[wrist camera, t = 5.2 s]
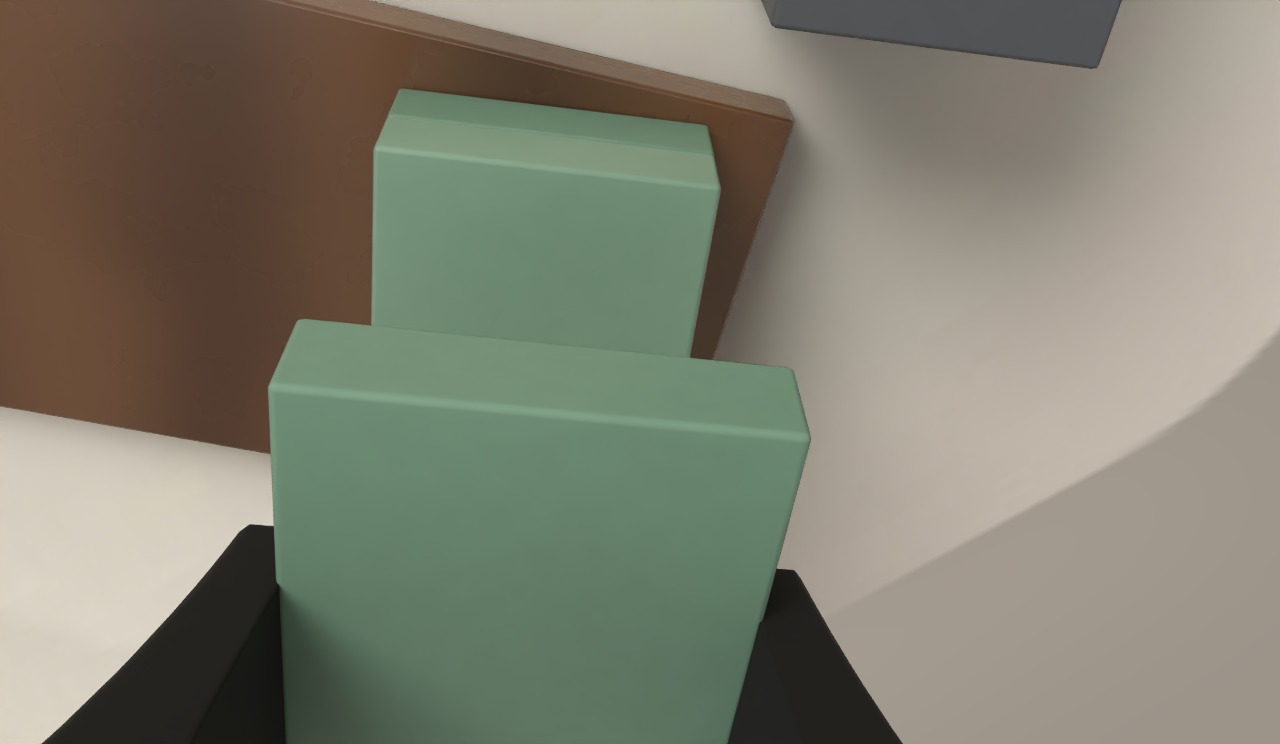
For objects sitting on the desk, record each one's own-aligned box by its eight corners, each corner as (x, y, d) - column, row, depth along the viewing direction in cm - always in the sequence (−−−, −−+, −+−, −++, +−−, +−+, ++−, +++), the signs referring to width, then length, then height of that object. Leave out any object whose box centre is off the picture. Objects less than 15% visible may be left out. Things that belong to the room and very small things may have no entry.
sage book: (796, 364, 11) (814, 436, 10) (681, 825, 15) (687, 911, 14) (296, 314, 11) (265, 383, 10) (309, 802, 15) (287, 888, 14)
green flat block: (709, 124, 18) (722, 186, 16) (646, 485, 22) (651, 572, 20) (398, 86, 18) (372, 145, 16) (389, 461, 21) (367, 548, 19)
